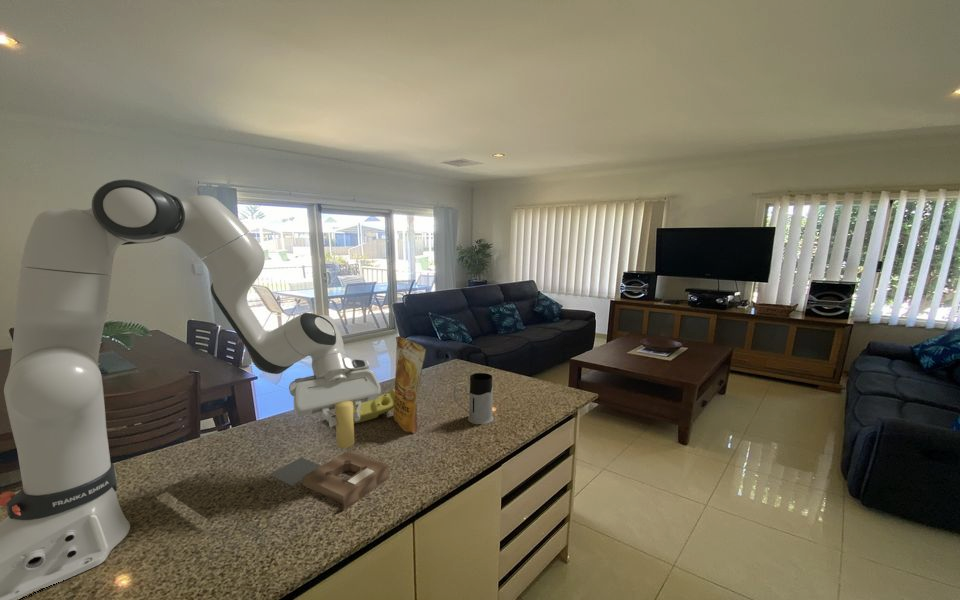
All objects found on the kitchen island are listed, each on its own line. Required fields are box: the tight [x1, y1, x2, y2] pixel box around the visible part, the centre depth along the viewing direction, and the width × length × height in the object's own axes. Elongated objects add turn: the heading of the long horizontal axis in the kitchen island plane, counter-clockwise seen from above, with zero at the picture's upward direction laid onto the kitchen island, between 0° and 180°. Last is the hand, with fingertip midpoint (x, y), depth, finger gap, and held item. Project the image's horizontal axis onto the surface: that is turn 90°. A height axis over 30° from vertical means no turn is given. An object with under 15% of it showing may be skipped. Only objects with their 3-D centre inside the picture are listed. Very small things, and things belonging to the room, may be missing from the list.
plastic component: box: [353, 388, 395, 425], centre depth 131 cm, size 20×7×10 cm
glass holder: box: [453, 372, 494, 425], centre depth 126 cm, size 9×14×15 cm, turn 115°
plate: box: [268, 457, 322, 487], centre depth 95 cm, size 9×9×2 cm
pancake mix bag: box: [393, 335, 427, 434], centre depth 123 cm, size 7×19×28 cm, turn 32°
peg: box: [334, 401, 355, 449], centre depth 90 cm, size 4×4×10 cm
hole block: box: [301, 450, 390, 511], centre depth 91 cm, size 14×14×4 cm
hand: (345, 423), depth 89 cm, fingers closed on peg, 4 cm apart
